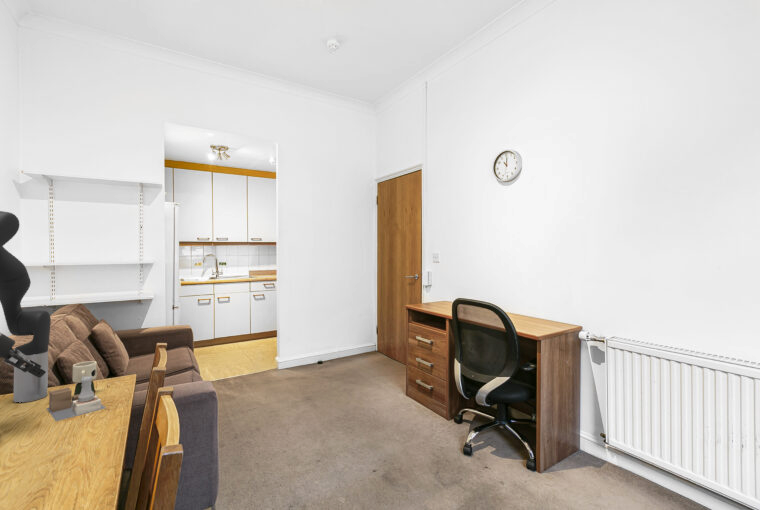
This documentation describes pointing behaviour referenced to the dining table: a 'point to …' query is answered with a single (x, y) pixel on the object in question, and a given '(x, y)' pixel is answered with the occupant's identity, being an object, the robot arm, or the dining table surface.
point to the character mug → (84, 374)
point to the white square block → (86, 406)
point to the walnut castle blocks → (61, 399)
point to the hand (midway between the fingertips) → (40, 371)
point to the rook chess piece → (86, 390)
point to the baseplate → (67, 413)
